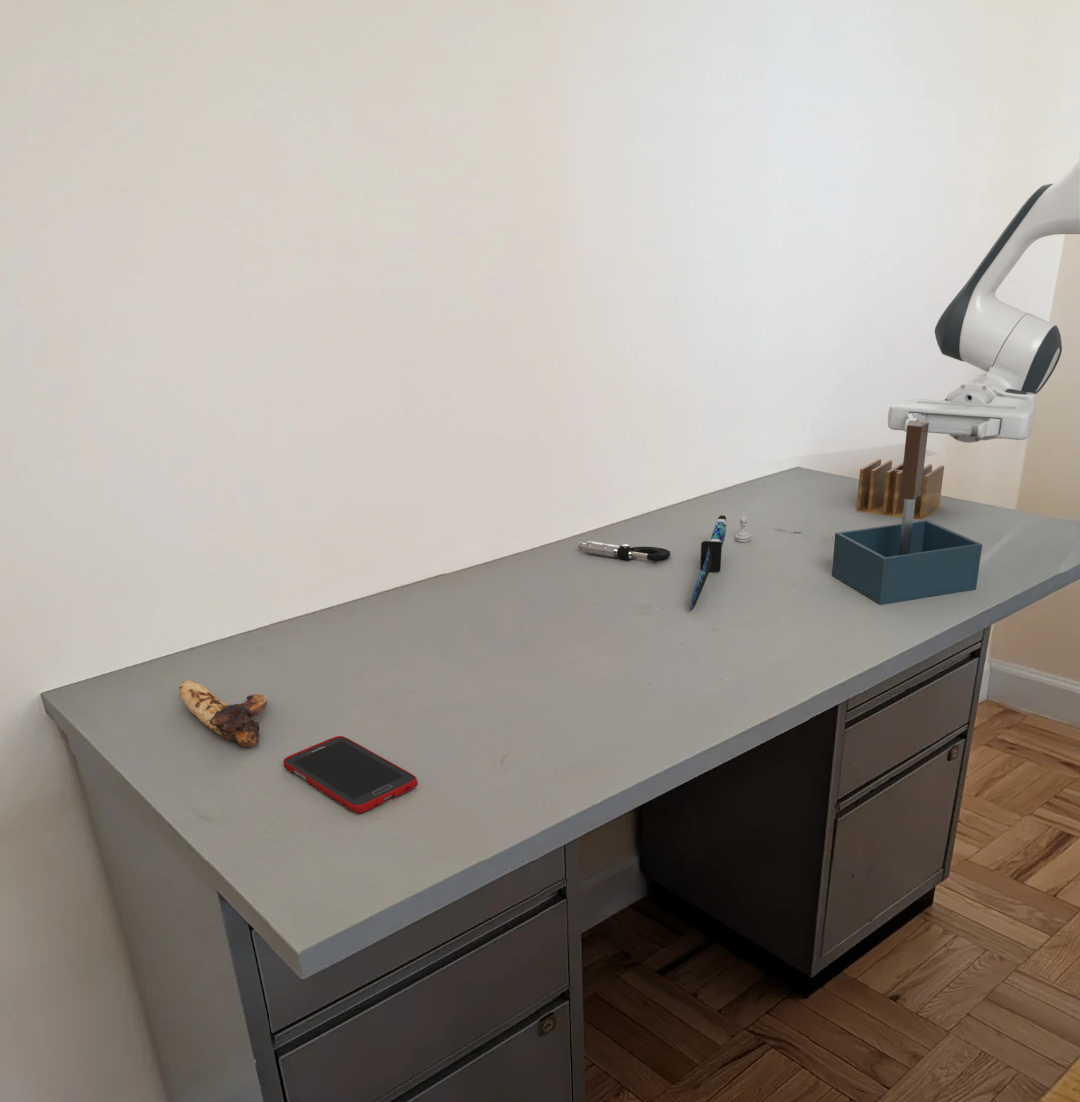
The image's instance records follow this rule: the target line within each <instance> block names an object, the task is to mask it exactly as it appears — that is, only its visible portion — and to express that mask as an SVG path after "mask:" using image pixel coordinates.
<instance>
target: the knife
mask: <svg viewBox="0 0 1080 1102" xmlns="http://www.w3.org/2000/svg"><path fill="white" fill-rule="evenodd" d="M715 521H716V522H715V525H714V527H713V531H712V534H711V537H710V540H703V541H701V543H700V560H699V561H700V564H699V570H700V573H699V575H698V577H697V579H696V582H695V585H694V588H693V592H692V596H691V601H690V607H689V611H690V612H692V611H693V610H694V609H695V606H696V604H697V602H698V600H699V598H700V595H701V594H702V592H703V589H704V586H705V584H706V581H707V578H708V576H709V573H710V572H713V573H719V572H721V567H722V552H723V551H722V548H723V545H724V543H725V539H726V536H727V531H728V530H727V529H728V527H727V525H728V523H727V522H728V521H727V517H726V515H723V514H721V515H718V518H717V519H716V520H715Z"/></svg>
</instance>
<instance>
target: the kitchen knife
mask: <svg viewBox="0 0 1080 1102" xmlns="http://www.w3.org/2000/svg"><path fill="white" fill-rule="evenodd" d="M928 427H929V423H927V422H913V423H911V424H909V425H907V432H905V442H904V451H903V460H902V463H903V471H902V480H901V490H900V498H903V499H904V507H903V517H901V523H902V526H901V536H900V545H899V554H898V555H905V554H909V553H910V544H911V535H912V526H913V522H914V519H913V517H914V508H915V499H916V498H917V497H918V496H920V495H921V489H922V480H923V471H924V467H925V462H926V454H927V451H926V450H927V444H928V434H929V433H928Z"/></svg>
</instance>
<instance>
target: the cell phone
mask: <svg viewBox="0 0 1080 1102" xmlns="http://www.w3.org/2000/svg"><path fill="white" fill-rule="evenodd" d="M282 762H283V763H282V764H283V767H284V768H285V769H286V770H287V771H289V772H290V773H292V774H294V775H296V776H297V777H299V778H301V779H303V780H304V781H305V782H306V783H307V784H308V785H310V786H312V787H313V788H315V789H316V790H318V791H320V792H321V793H322V794H325V795H326V796H327V797H329V798H331V799H333V800H334V801H336V802H337V803H338V804H340V805H342V806H343V807H346V808H347V809H348V810H350V811H352V812H354V813H356V814H362V813H366V812H368V811H370V810H372V809H374V808H376V807H378V806H381V805H383V804H384V803H385V802H387V801H389V800H392V799H395V798H397V797H400V796H402V795H403V794H405V793H408V792H410V791H412V790H414V789H416V787H417V786H418V778H417V777H416V776H415V775H414V774H412V773H411V772H409V771H407V770H405V769H404V768H402V767H400V766H398V765H396V763H393V762H391V761H389V760H388V759H385V758H384V757H382V756H380V755H378V754H377V753H375V752H373V751H372V750H370V749H368V748H367V747H364V746H362V744H361V745H360V744H359V743H357V742H355V741H353V740H352V739H350V738H348V737H346V736H343V735H337V736H334V737H330V738H329V739H326V740H323V741H321V742H319V743H316V744H314V745H312V746H309V747H307V748H305V749H302V750H300V751H297V752H294V753H292V754H290V755H288V756H286V757H284V758H283V760H282Z"/></svg>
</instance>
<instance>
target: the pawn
mask: <svg viewBox="0 0 1080 1102" xmlns="http://www.w3.org/2000/svg"><path fill="white" fill-rule="evenodd" d="M739 526H740V530H739V531H738V532H737V533H736V534H735V535H734V540H735V541H736V542H739V543H748V542H750V541H751V538H752V535H751V534H750V533H749V532H748V531H747V529H746V526H748V518H747V516H744V515H743V516H741V517H739Z"/></svg>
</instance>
